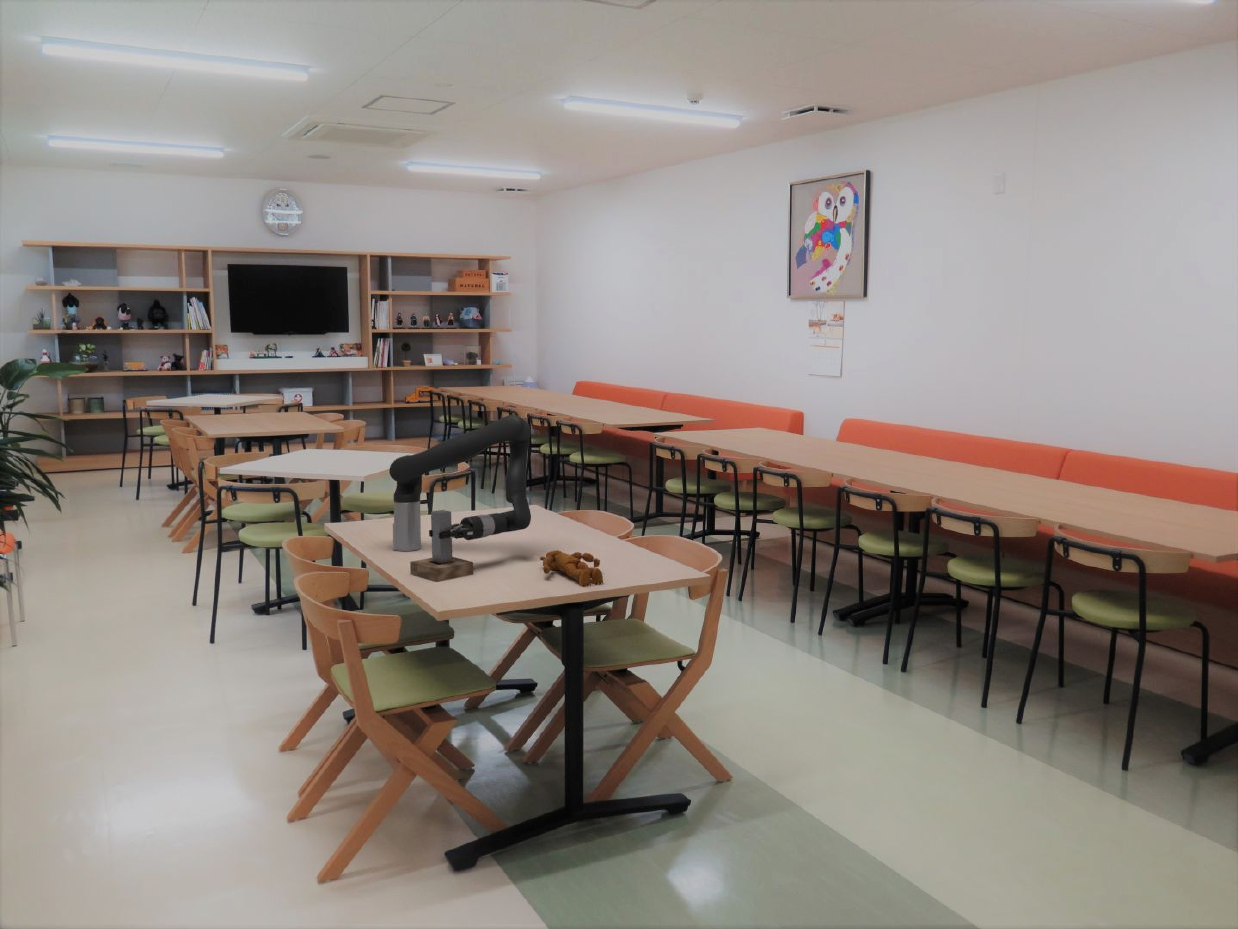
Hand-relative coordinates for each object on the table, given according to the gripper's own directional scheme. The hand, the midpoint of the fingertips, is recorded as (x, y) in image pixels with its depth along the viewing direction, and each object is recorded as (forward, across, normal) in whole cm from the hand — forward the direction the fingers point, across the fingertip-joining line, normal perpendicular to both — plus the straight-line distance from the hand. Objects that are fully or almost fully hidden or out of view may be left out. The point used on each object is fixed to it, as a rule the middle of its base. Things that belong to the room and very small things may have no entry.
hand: (434, 534), depth 308 cm
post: (-3, 0, +9) cm, 9 cm away
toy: (-31, +29, +14) cm, 45 cm away
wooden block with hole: (-2, 0, +13) cm, 13 cm away
